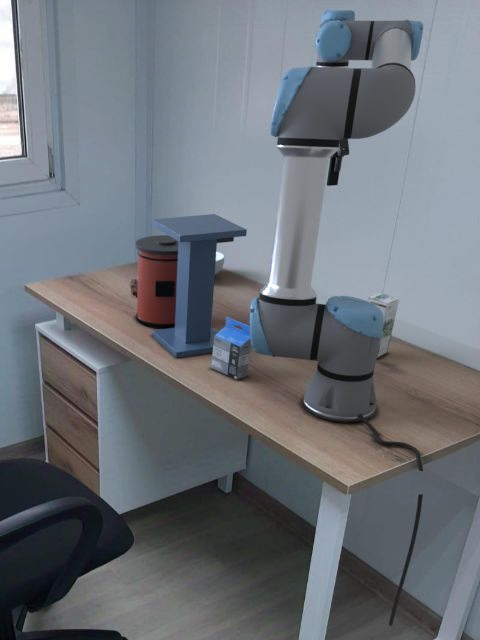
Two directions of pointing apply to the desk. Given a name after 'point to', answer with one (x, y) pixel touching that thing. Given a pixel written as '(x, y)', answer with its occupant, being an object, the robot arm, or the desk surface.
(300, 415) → the desk surface
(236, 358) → the label tape box
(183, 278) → the stand
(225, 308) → the desk surface
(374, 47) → the robot arm
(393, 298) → the syrup box
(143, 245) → the lid
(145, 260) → the red banded canister
